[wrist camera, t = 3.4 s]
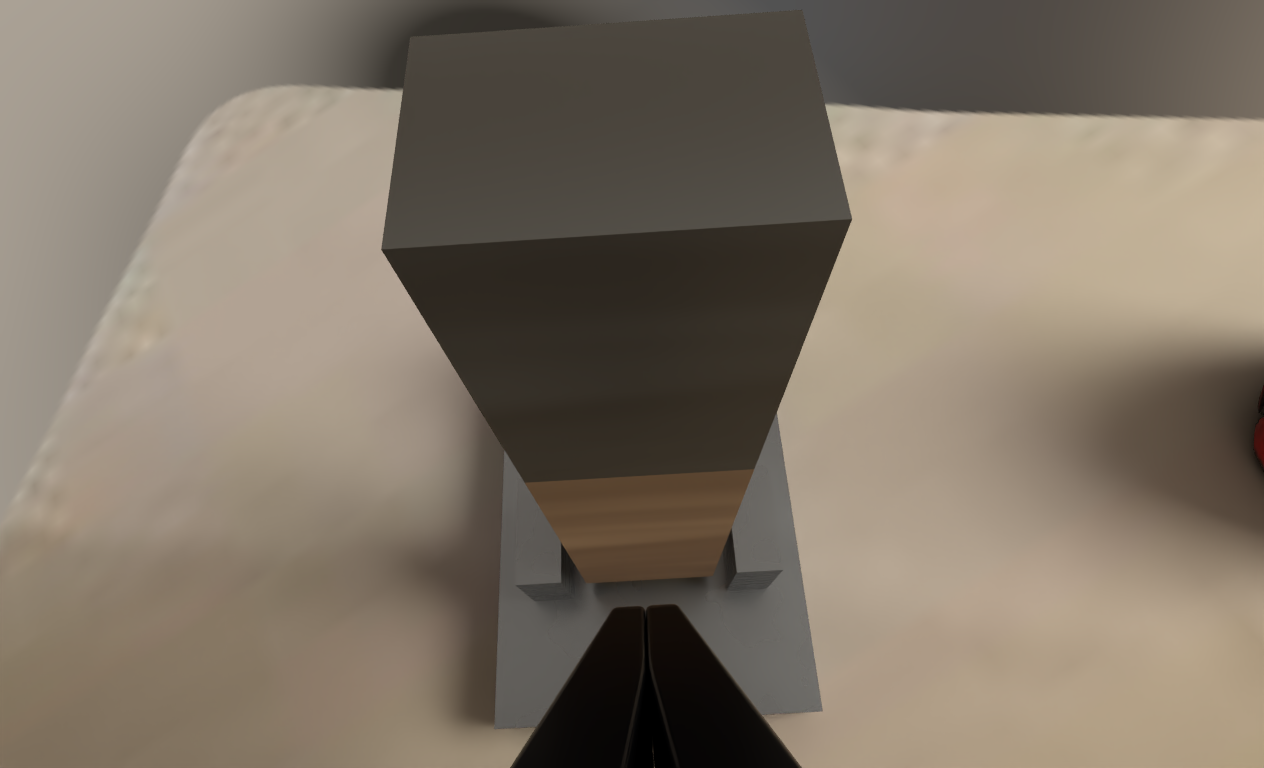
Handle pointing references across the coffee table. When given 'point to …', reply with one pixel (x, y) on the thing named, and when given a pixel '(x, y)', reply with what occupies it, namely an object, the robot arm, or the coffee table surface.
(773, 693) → the base
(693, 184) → the lever
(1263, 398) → the decorative doll
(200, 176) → the coffee table surface
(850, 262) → the coffee table surface
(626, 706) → the robot arm
